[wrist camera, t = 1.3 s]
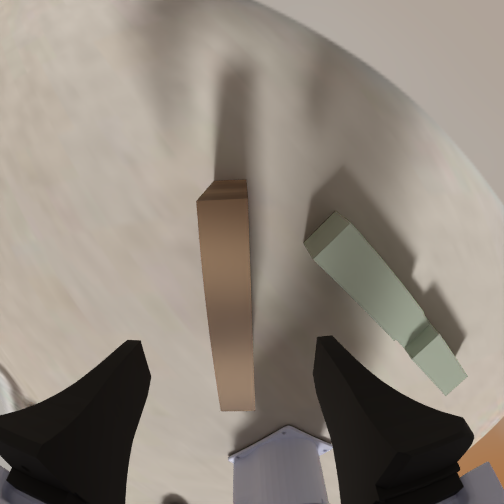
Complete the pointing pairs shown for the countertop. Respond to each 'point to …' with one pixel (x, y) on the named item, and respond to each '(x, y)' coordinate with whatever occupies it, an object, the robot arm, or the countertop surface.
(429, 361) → the slotted rail
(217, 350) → the walnut plate
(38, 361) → the countertop surface
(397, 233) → the countertop surface
